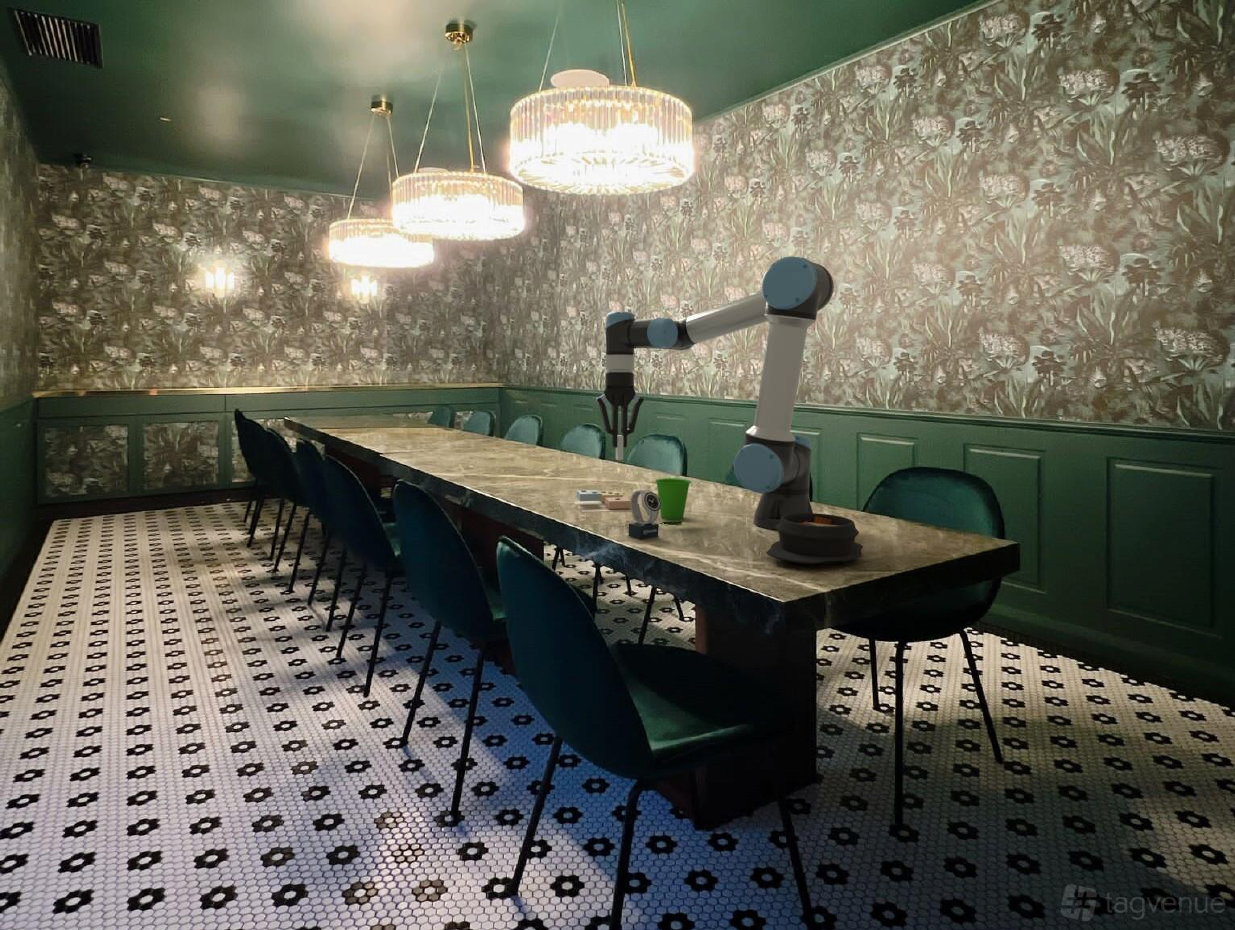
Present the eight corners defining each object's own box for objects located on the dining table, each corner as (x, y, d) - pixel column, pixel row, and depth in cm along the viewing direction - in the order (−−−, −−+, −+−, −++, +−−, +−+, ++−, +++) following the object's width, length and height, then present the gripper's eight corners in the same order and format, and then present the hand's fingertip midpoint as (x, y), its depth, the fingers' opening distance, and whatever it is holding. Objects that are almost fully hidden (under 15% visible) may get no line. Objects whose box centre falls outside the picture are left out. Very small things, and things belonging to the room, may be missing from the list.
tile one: (630, 508, 202) (631, 500, 202) (609, 508, 200) (609, 500, 200) (625, 504, 208) (626, 496, 207) (604, 504, 206) (604, 496, 206)
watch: (646, 541, 171) (647, 493, 170) (623, 534, 178) (624, 489, 176) (664, 538, 175) (665, 491, 173) (641, 532, 181) (642, 487, 180)
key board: (637, 515, 201) (637, 510, 201) (582, 517, 198) (582, 511, 197) (622, 503, 219) (622, 498, 219) (571, 504, 216) (571, 499, 216)
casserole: (806, 541, 174) (808, 506, 173) (883, 556, 161) (886, 518, 160) (744, 560, 156) (746, 520, 155) (826, 578, 143) (828, 535, 142)
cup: (687, 527, 187) (689, 484, 185) (651, 525, 189) (652, 482, 187) (691, 520, 196) (692, 479, 194) (657, 518, 197) (658, 477, 196)
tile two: (601, 500, 205) (601, 492, 205) (580, 501, 204) (580, 493, 203) (597, 497, 211) (597, 489, 211) (576, 497, 210) (576, 489, 209)
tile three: (622, 501, 211) (622, 494, 211) (601, 502, 210) (601, 494, 210) (618, 498, 217) (618, 490, 217) (597, 498, 216) (597, 491, 216)
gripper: (640, 371, 204) (639, 457, 207) (593, 371, 202) (593, 458, 205) (647, 371, 197) (646, 460, 200) (598, 371, 194) (598, 461, 197)
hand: (619, 459), depth 202 cm, fingers closed
